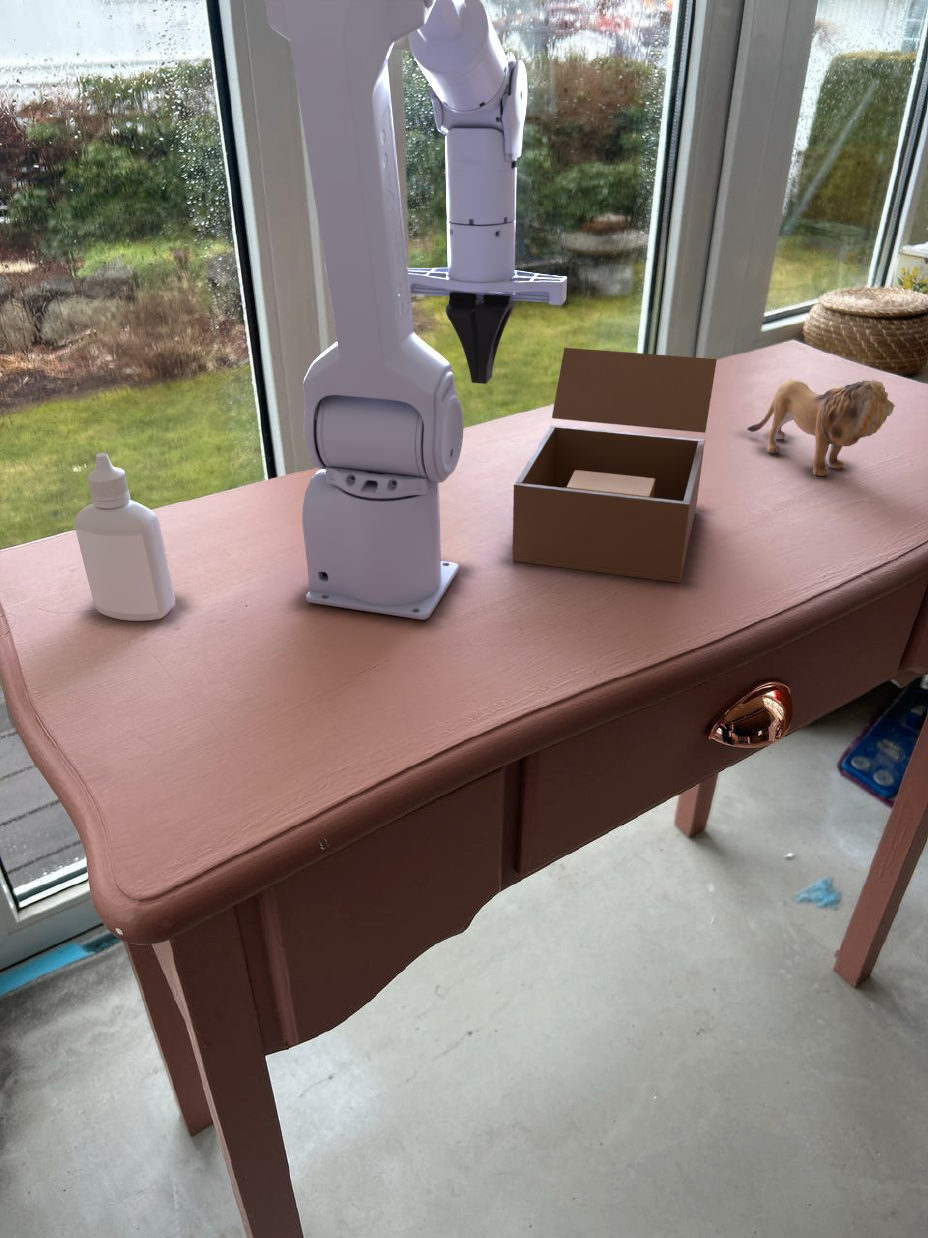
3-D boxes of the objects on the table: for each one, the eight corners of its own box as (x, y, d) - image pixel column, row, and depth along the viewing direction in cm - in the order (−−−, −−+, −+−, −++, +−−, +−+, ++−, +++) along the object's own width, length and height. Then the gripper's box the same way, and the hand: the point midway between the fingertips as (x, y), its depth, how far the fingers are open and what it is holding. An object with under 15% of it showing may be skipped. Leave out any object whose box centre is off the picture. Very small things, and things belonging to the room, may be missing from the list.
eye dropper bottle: (131, 635, 66) (94, 475, 60) (88, 608, 69) (49, 454, 63) (184, 610, 69) (154, 455, 63) (141, 585, 72) (108, 435, 66)
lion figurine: (887, 476, 88) (910, 381, 83) (849, 490, 85) (871, 393, 80) (763, 429, 98) (778, 342, 93) (727, 440, 96) (740, 351, 91)
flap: (564, 347, 82) (564, 348, 83) (551, 417, 81) (552, 418, 82) (716, 358, 79) (716, 360, 79) (705, 431, 78) (705, 432, 79)
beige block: (563, 539, 77) (566, 487, 74) (572, 520, 80) (574, 469, 77) (644, 549, 75) (649, 496, 73) (650, 529, 78) (655, 478, 76)
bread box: (512, 561, 75) (513, 484, 71) (548, 494, 85) (550, 424, 82) (679, 583, 72) (689, 504, 68) (695, 510, 82) (705, 439, 79)
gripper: (576, 214, 80) (569, 372, 88) (414, 208, 84) (420, 360, 91) (559, 229, 75) (552, 397, 82) (386, 222, 78) (394, 383, 86)
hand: (481, 379), depth 86 cm, fingers closed
